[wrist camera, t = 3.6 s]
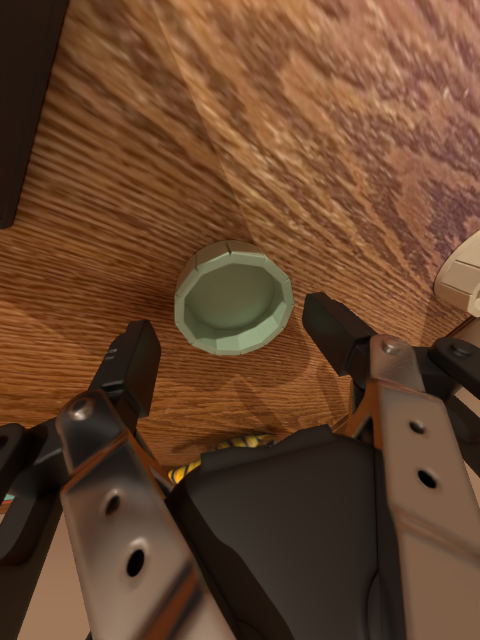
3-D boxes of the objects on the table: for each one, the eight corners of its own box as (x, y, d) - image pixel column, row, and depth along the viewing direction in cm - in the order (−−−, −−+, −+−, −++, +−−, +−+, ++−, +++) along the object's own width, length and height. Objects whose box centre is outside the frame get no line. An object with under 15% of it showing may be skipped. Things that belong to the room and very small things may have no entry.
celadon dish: (221, 212, 10) (227, 221, 8) (297, 282, 13) (315, 301, 11) (158, 302, 12) (150, 327, 10) (236, 342, 15) (241, 367, 13)
